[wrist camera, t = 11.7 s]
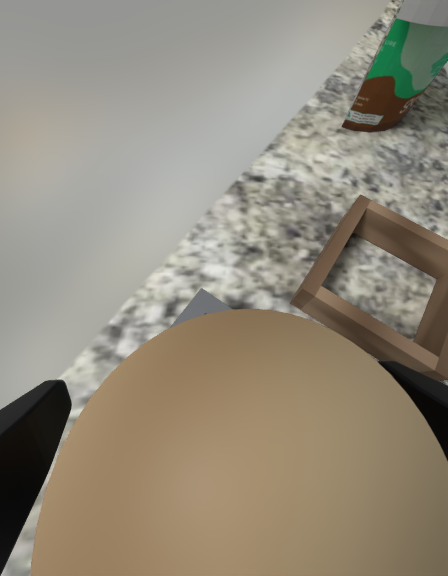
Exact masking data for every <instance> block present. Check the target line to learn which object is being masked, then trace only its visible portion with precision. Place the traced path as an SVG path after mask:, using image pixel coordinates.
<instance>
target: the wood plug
mask: <svg viewBox="0 0 448 576" xmlns="http://www.w3.org/2000/svg"><path fill="white" fill-rule="evenodd" d="M31 576H448V461H447V459H446V457H445V455H444V452H443V450H442V448H441V446H440V444H439V442H438V440H437V439H436V437H435V435H434V433H433V432H432V430H431V428H430V426H429V425H428V423H427V421H426V420H425V418H424V416H423V415H422V414H421V412H420V411H419V409H418V408H417V407H416V405H415V404H414V402H413V401H412V400H411V398H410V397H409V395H408V394H407V393H406V392H405V391H404V389H403V388H402V387H401V386H400V385H399V384H398V383H397V381H396V380H395V379H394V378H393V377H392V376H391V374H389V373H388V372H387V371H386V370H385V369H384V368H383V367H382V366H381V365H380V364H379V363H378V362H377V361H376V360H375V359H374V358H372V357H371V356H370V355H369V354H367V353H366V352H365V351H363V350H362V349H361V348H359V347H358V346H357V345H356V344H354V343H353V342H351V341H350V340H348V339H346V338H345V337H343V336H341V335H340V334H338V333H336V332H335V331H333V330H331V329H329V328H327V327H325V326H322V325H320V324H318V323H316V322H314V321H311V320H308V319H305V318H302V317H299V316H295V315H292V314H288V313H283V312H277V311H272V310H261V309H237V310H225V311H220V312H215V313H210V314H205V315H202V316H199V317H196V318H193V319H190V320H187V321H184V322H182V323H180V324H178V325H176V326H174V327H172V328H169V329H167V330H165V331H164V332H162V333H160V334H159V335H157V336H156V337H154V338H152V339H151V340H149V341H148V342H146V343H144V344H143V345H142V346H141V347H140V348H138V349H137V350H136V351H135V352H133V353H132V354H131V355H130V356H128V357H127V358H126V359H125V360H124V361H123V362H122V363H121V364H120V365H119V366H118V367H117V368H116V369H115V370H114V371H113V372H112V373H111V374H110V375H109V376H108V377H107V378H106V379H105V381H104V382H103V383H102V384H101V386H100V387H99V388H98V389H97V391H96V392H95V393H94V395H93V396H92V397H91V398H90V400H89V401H88V403H87V404H86V406H85V407H84V409H83V411H82V412H81V414H80V415H79V417H78V419H77V420H76V422H75V423H74V425H73V427H72V429H71V431H70V433H69V435H68V437H67V439H66V441H65V443H64V445H63V447H62V449H61V451H60V453H59V455H58V458H57V461H56V463H55V466H54V469H53V471H52V474H51V477H50V480H49V482H48V485H47V488H46V492H45V495H44V499H43V503H42V507H41V511H40V515H39V519H38V523H37V529H36V535H35V542H34V548H33V555H32V561H31Z"/></svg>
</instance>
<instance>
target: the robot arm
mask: <svg viewBox="0 0 448 576" xmlns="http://www.w3.org/2000/svg"><path fill="white" fill-rule="evenodd" d="M378 363H379V364H380V365H381V366H382V367H383V368H384V369H385V370H386V371H387V372H388V373H389V374H391V376H392V377H393V378H394V379H395V380H396V381H397V383H398V384H399V385H400V386H401V387H402V388H403V389H404V391H405V392H406V393H407V394H408V395H409V397H410V398H411V400H412V401H413V402H414V404H415V405H416V407H417V408H418V409H419V411H420V412H421V414H422V415H423V416H424V418H425V420H426V421H427V423H428V425H429V426H430V428H431V430H432V432H433V433H434V435H435V437H436V439H437V440H438V442H439V444H440V446H441V448H442V450H443V452H444V455H445V457H446V459H447V461H448V386H447V385H445V384H443V383H441V382H439V381H437V380H434V379H432V378H430V377H428V376H426V375H424V374H422V373H420V372H417V371H415V370H413V369H411V368H409V367H407V366H405V365H403V364H400V363H398V362H396V361H394V360H383V361H379V362H378ZM71 406H72V404H71V399H70V396H69V392H68V389H67V386H66V383H65V382H64V381H63V380H48V381H45V382H43V383H42V384H40V385H39V386H37V387H36V388H34V389H32V390H31V391H29V392H28V393H26V394H24V395H23V396H21V397H20V398H18V399H17V400H15V401H14V402H12V403H10V404H9V405H7V406H6V407H4V408H2V409H1V410H0V576H1V574H2V572H3V569H4V567H5V565H6V563H7V561H8V559H9V557H10V554H11V552H12V550H13V548H14V546H15V544H16V541H17V539H18V537H19V535H20V533H21V531H22V528H23V526H24V524H25V522H26V520H27V518H28V516H29V513H30V511H31V509H32V507H33V505H34V503H35V500H36V498H37V496H38V494H39V492H40V490H41V488H42V485H43V483H44V481H45V479H46V476H47V474H48V472H49V469H50V467H51V464H52V462H53V459H54V456H55V453H56V451H57V448H58V445H59V442H60V439H61V437H62V434H63V431H64V428H65V425H66V423H67V420H68V417H69V414H70V411H71Z"/></svg>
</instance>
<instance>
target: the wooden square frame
mask: <svg viewBox="0 0 448 576" xmlns="http://www.w3.org/2000/svg"><path fill="white" fill-rule="evenodd" d="M352 232H353V233H355V234H357V235H358V236H360V237H362V238H364V239H366V240H367V241H369V242H371V243H373V244H375V245H377V246H378V247H380V248H382V249H384V250H386V251H387V252H389V253H391V254H393V255H395V256H396V257H398V258H400V259H402V260H404V261H405V262H407V263H409V264H411V265H413V266H415V267H416V268H418V269H420V270H422V271H424V272H425V273H427V274H429V275H431V276H433V277H434V278H436V279H437V281H436V283H435V286H434V289H433V291H432V294H431V297H430V299H429V302H428V304H427V307H426V310H425V312H424V315H423V318H422V320H421V323H420V325H419V328H418V331H417V333H416V336H415V338H414V341H411V340H410V339H408V338H406V337H405V336H403V335H401V334H400V333H398V332H396V331H395V330H393V329H391V328H390V327H388V326H386V325H385V324H383V323H382V322H380V321H378V320H377V319H375V318H373V317H372V316H370V315H368V314H367V313H365V312H363V311H362V310H360V309H359V308H357V307H355V306H354V305H352V304H350V303H349V302H347V301H345V300H344V299H342V298H340V297H339V296H337V295H335V294H334V293H332V292H331V291H329V290H327V289H326V288H324V287H322V286H321V285H322V283H323V282H324V280H325V278H326V277H327V275H328V273H329V271H330V270H331V268H332V266H333V265H334V263H335V261H336V259H337V258H338V256H339V254H340V253H341V251H342V249H343V248H344V246H345V244H346V242H347V241H348V239H349V237H350V236H351V234H352ZM290 303H291V304H292V305H294V306H295V307H297V308H299V309H300V310H302V311H303V312H305V313H306V314H308V315H310V316H311V317H313V318H314V319H316V320H317V321H319V322H321V323H322V324H324V325H325V326H327V327H328V328H330V329H332V330H333V331H335V332H336V333H338V334H340V335H341V336H343V337H345V338H346V339H348V340H350V341H351V342H353V343H354V344H356V345H357V346H358V347H360V348H361V349H363V350H365V351H366V352H368V353H369V354H371V355H372V356H374V357H376V358H377V359H379V360H380V361H383V360H394V361H396V362H398V363H400V364H403V365H405V366H407V367H409V368H411V369H413V370H415V371H417V372H420V373H422V374H424V375H426V376H428V377H430V378H432V379H434V380H437V381H439V380H448V240H447V239H445V238H443V237H441V236H439V235H437V234H435V233H433V232H432V231H430V230H428V229H426V228H424V227H422V226H420V225H418V224H416V223H414V222H412V221H410V220H409V219H407V218H405V217H403V216H401V215H399V214H397V213H395V212H393V211H391V210H389V209H387V208H385V207H384V206H382V205H380V204H378V203H376V202H374V201H372V200H370V199H368V198H366V197H364V196H362V195H360V196H359V197H358V198H357V200H356V201H355V202H354V204H353V205H352V206H351V208H350V209H349V210H348V211H347V213H346V214H345V215H344V217H343V218H342V220H341V221H340V223H339V225H338V226H337V228H336V229H335V231H334V233H333V234H332V236H331V237H330V239H329V241H328V242H327V244H326V245H325V247H324V249H323V250H322V252H321V253H320V255H319V257H318V258H317V260H316V261H315V263H314V265H313V266H312V268H311V270H310V271H309V273H308V274H307V276H306V278H305V279H304V281H303V282H302V284H301V286H300V287H299V289H298V290H297V292H296V294H295V295H294V297H293V298H292V300H291V302H290Z"/></svg>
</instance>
